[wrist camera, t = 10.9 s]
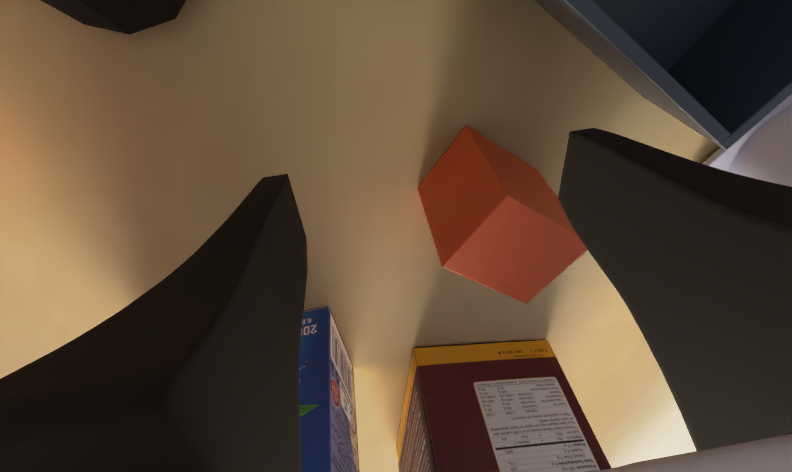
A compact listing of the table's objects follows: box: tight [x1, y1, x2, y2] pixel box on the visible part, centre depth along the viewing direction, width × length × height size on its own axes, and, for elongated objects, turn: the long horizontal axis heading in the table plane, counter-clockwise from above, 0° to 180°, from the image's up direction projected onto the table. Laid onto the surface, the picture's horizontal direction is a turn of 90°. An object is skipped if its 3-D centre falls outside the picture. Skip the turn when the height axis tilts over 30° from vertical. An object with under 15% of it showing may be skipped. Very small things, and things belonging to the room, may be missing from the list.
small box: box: [418, 126, 587, 303], centre depth 20 cm, size 5×4×6 cm
